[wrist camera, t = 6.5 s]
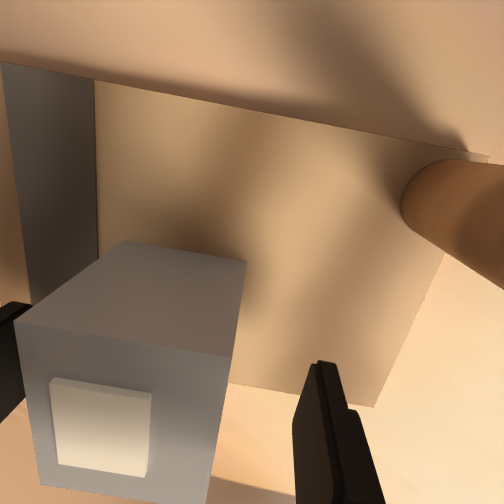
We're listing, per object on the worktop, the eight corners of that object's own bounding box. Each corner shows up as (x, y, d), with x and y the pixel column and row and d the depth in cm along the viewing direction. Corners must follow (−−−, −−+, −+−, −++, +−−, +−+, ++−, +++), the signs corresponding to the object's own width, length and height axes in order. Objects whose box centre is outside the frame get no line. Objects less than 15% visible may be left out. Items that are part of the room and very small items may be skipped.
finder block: (247, 261, 12) (231, 364, 6) (226, 374, 14) (202, 518, 9) (124, 239, 12) (5, 326, 6) (123, 356, 14) (35, 492, 9)
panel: (470, 154, 11) (492, 156, 10) (366, 391, 15) (374, 409, 14) (-16, 60, 10) (-47, 52, 9) (24, 331, 15) (5, 346, 14)
